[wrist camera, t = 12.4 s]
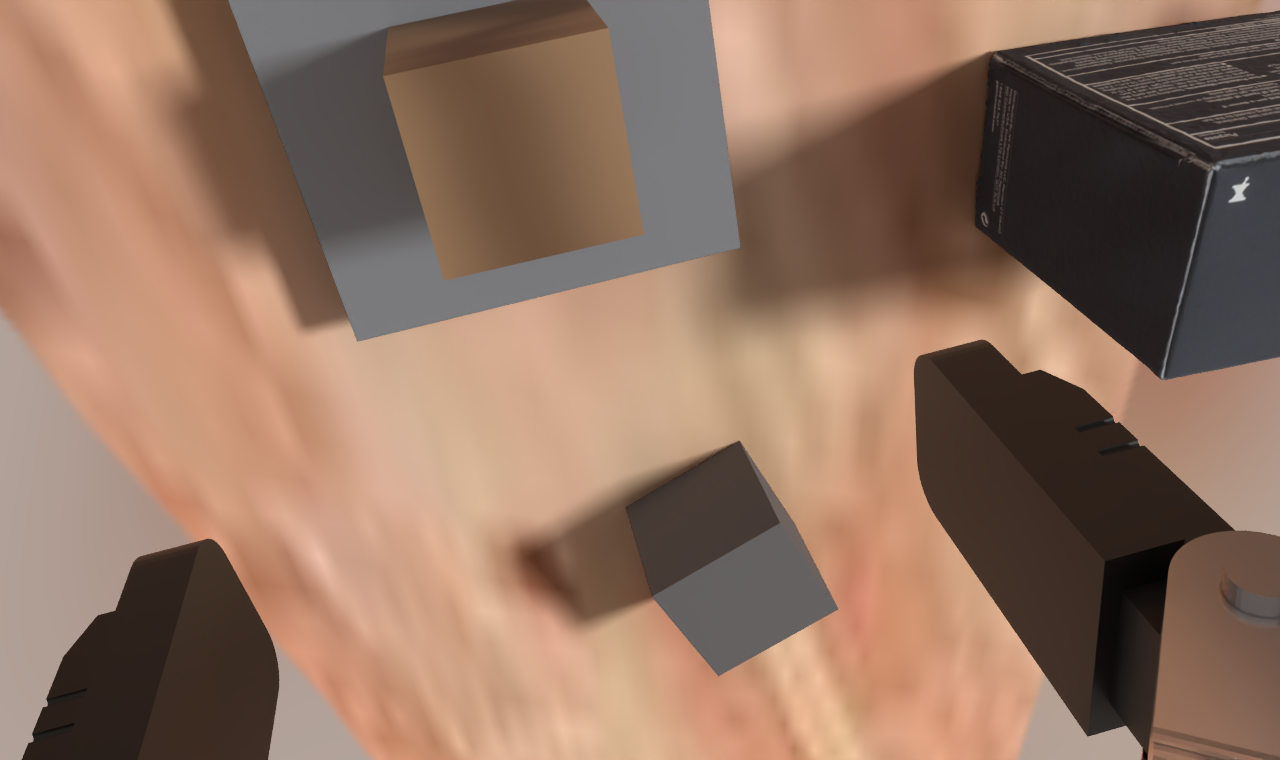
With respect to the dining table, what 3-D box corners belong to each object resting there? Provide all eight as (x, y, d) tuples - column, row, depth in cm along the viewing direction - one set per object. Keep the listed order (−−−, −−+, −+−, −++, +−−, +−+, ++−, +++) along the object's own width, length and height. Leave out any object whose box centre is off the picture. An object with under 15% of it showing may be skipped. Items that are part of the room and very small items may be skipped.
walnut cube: (576, -13, 26) (608, 28, 22) (610, 167, 29) (644, 234, 25) (388, 27, 26) (383, 76, 22) (439, 206, 28) (444, 280, 24)
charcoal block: (738, 439, 37) (780, 523, 33) (793, 521, 40) (838, 609, 36) (625, 506, 38) (651, 596, 34) (686, 583, 41) (718, 676, 36)
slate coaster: (666, -195, 26) (683, -192, 25) (723, 223, 33) (740, 247, 31) (209, -98, 25) (194, -89, 24) (360, 311, 32) (357, 341, 30)
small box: (966, 239, 35) (1153, 396, 26) (984, 48, 31) (1206, 155, 23) (1243, 192, 36) (1511, 328, 27) (1289, 3, 33) (1613, 88, 24)
